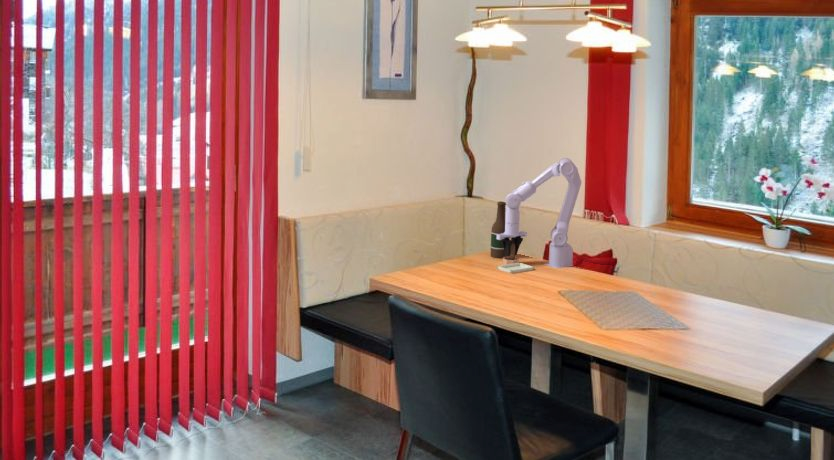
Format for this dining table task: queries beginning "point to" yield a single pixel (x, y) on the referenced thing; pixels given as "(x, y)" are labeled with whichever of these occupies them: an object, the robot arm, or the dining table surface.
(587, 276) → the dining table surface
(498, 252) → the beer bottle
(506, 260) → the holder
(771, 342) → the dining table surface
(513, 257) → the peg
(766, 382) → the dining table surface
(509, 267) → the tray
